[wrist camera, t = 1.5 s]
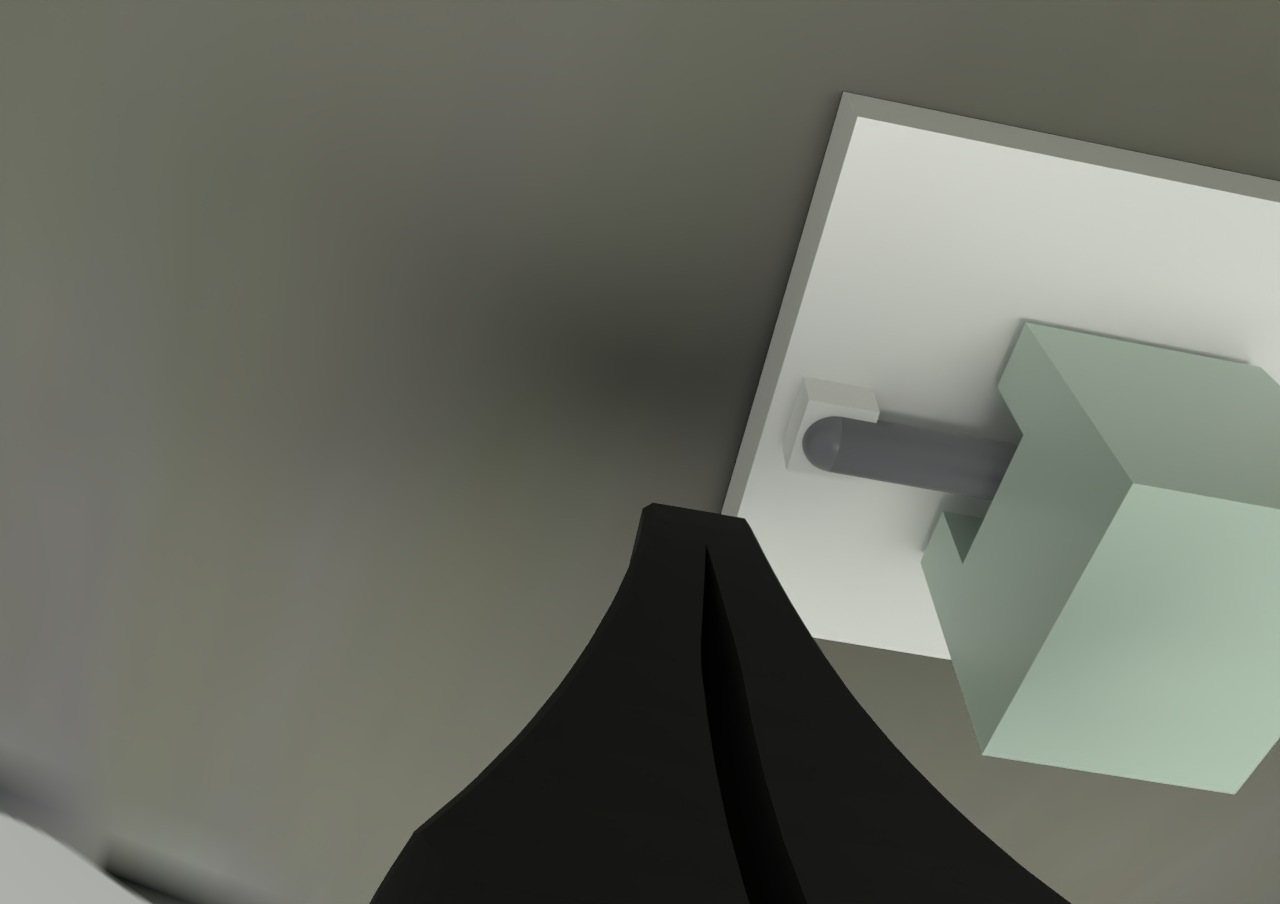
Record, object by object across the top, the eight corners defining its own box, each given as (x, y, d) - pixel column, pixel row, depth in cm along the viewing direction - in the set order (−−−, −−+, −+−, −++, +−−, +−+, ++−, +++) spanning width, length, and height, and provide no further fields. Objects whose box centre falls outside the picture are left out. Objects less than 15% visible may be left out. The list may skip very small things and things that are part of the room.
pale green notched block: (1260, 367, 16) (1436, 537, 13) (1123, 597, 19) (1235, 794, 15) (1025, 322, 16) (1132, 483, 12) (920, 562, 19) (982, 754, 15)
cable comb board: (1857, 301, 17) (2132, 417, 14) (1486, 702, 23) (1623, 854, 19) (843, 91, 16) (886, 166, 13) (704, 571, 21) (709, 711, 18)
